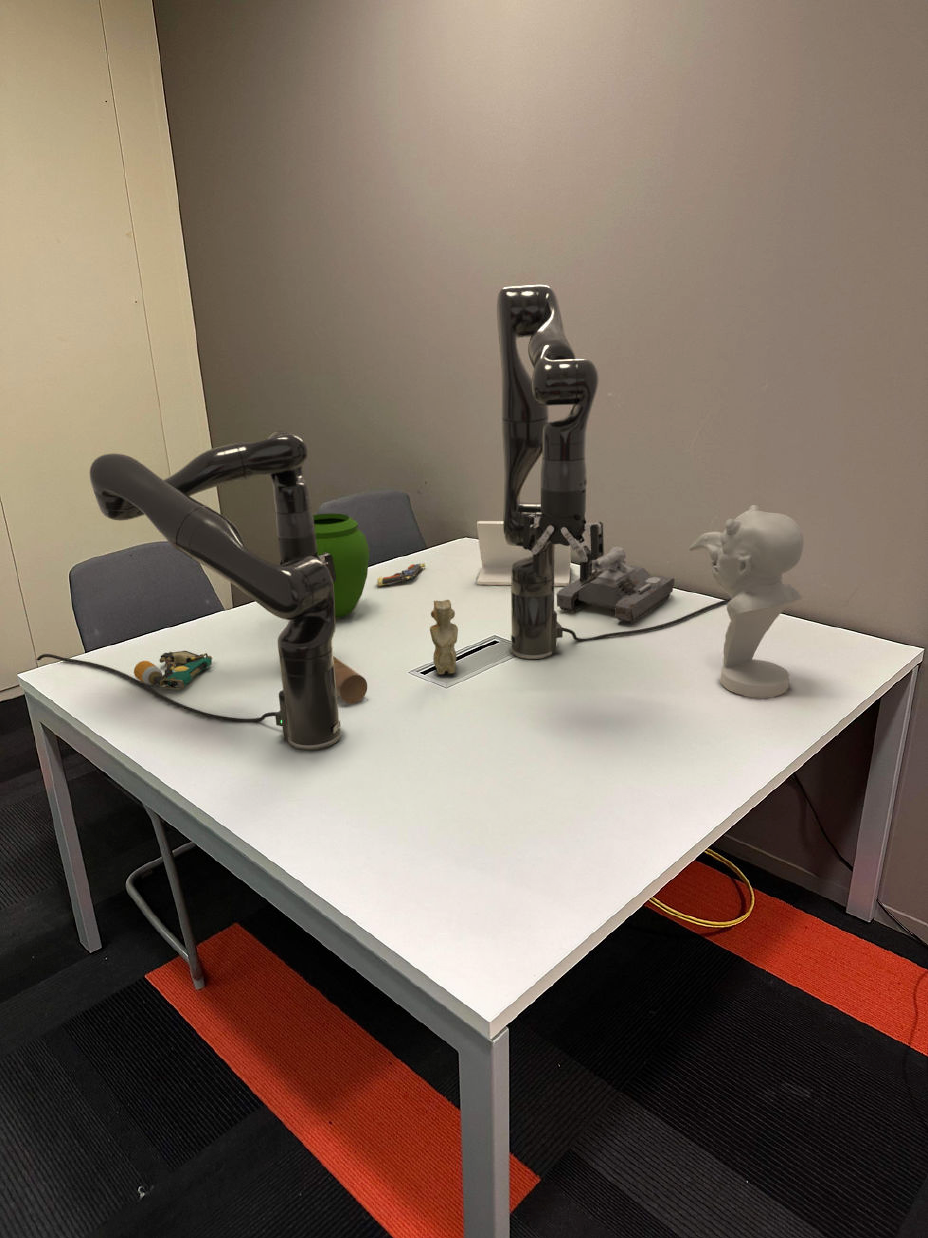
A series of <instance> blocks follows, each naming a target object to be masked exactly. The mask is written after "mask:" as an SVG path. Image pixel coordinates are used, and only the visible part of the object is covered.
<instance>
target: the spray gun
mask: <svg viewBox="0 0 928 1238" xmlns="http://www.w3.org/2000/svg"><path fill="white" fill-rule="evenodd" d="M212 660H213V657H212V656H211V655H208V653H207V652H205V653H201V654H197V653H194V652H192V651H191V652H190V651H188V650H180V651H169V652H164V653H162V654H161V655H160V658H159V660H158V662H159V663H161V664H163V663H165V664H166V668H165V670H163V672H164V674H163V673H162V669H160V668H159V666H157V665H156V664H154V663H152V662H151V661H149V660H141V661H139V662H138V663H136V665H135V666H134V668H133V675H134V677H135V679H136V680H138V681H140V682H141V683H143V684H145V685H146V686H155V685H157V686H158V687H160V688H161V689H171V690H172V689H173V690H182V689H184V687H185V686H186V685H188V684H189V683H190V682H191V681H192V679H193V678H195V677H196V676H197V675H198V674H200V673H201V672H202V671H203V670H206V669H208V668H209V667H210V666H211V665H212V662H213V661H212ZM178 663H179V664H181V665H179V666H176V665H177V664H178Z"/></svg>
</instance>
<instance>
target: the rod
mask: <svg viewBox="0 0 928 1238" xmlns="http://www.w3.org/2000/svg"><path fill="white" fill-rule="evenodd" d="M333 659H334V670H335V681H336V692H337V698H339V699H340V700H342V702H344V703H346V704H348V705H349V704H350V705H352V704H353V705H354V704H356V703H359V702H360V701H362V700H363V699H364V697H366V694H367V691H368V682H367V680H366V678H365V677H364V676H362V675H361V674H360V673H359V672H357V671H355V670H354V669H352V668H351V667H350V666H348V665H347V664H346V663H344V662H343V661H341V660H340V659H339V658H337V657H336V656H334V655H333Z"/></svg>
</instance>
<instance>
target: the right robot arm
mask: <svg viewBox="0 0 928 1238" xmlns="http://www.w3.org/2000/svg"><path fill="white" fill-rule="evenodd" d="M560 309H561V308H560V305H559V301H558V297H557V295H556V293H555V292H554V290H553V288H552V287H550V286H548V285H545V284H532V285H531V284H530V285H515V286H505V287H501V289H500V290H499V291H498V295H497V300H496V318H497V332H498V333H497V334H498V344H499V356H500V368H501V434H502V449H503V450H502V451H503V466H504V467H503V468H504V469H503V470H504V485H503V487H504V488H503V490H504V491H503V518H502V519H503V520H502V521H503V530H504V537H505V541H506V543H507V544H508V545H510V546H519V547H523V548H524V549H525V550H527V549H528V550H530V551H531V552H532V553H533V555H532V556H530V557H527V558H524V559H521V560H518V561H516V562H515V563H513V565H512V567H511V585H510V588H511V589H510V597H511V599H510V603H511V604H510V606H511V607H510V609H511V610H510V615H511V617H510V618H511V621H510V622H511V635H510V641H511V643H510V644H511V647H510V651H511V653H512V655H513V656H515V657H518V658H521V659H525V660H526V659H527V660H540V659H545V658H548V657H550V656H552V655H557V654H558V653H557V650H558V649H557V648H558V647H557V645H558V644H557V643H558V639H561V638H564V637H563V632H565V633H569V634H570V635H571V636H572V639H573V640H574V641H576V642H579V643H581V642H589V641H597V640H601V639H605V638H610V637H617V636H625V635H633V634H639V633H646V632H651V631H654V630H658V629H663V628H665V627H668V626H671V625H675V624H677V623H681V622H682V621H685V620H687V619H689V618H692V617H694V616H697V615H698V614H701V613H703V612H705V611H708V610H710V609H713V608H716V607H718V606H720V605H723V604H728V603H729V601H730V600H731V599H732V598H726V599H724V600H720V601H718V602H715V603H712V604H710V605H707V606H705V607H702V608H700V609H698V610H696V611H694V612H691V613H688V614H687V615H684V616H682V617H680V618H679V617H678V618H677V619H674V620H672V621H669V622H666V623H662V624H658V625H655V626H650V627H645V628H640V629H633V630H627V631H625V630H624V631H617V632H616V631H615V632H609V633H604V634H600V635H597V636H593V637H589V638H582V637H577V634H576V632H574V630H572V629H570V628H566V627H563V626H562V624H560V623H559V621H558V613H557V612H556V611H555V586H554V555H555V544H561V545H564V546H569V545H570V548H572V550H573V551H574V552H576V553H577V555H578V557H579V559H580V560H581V561H580V562H579V579H580V582H582V583H585V582H587V581H588V580H589V579H590V578H591V576H592V567H593V564H592V561H593V560H598V559H600V558H602V557H603V556H605V544H604V523H603V522H602V521H597V522H587V520H586V509H587V484H588V479H587V464H586V445H587V444H586V443H587V441H586V438H587V429H588V423H589V419H590V414H591V411H592V408H593V404H594V401H595V398H596V395H597V392H598V388H599V381H600V380H599V378H600V377H599V373H598V369H597V367H596V365H595V364H594V362H593V361H591V360H590V359H586V358H576V354H575V352H574V349H573V348H572V346H571V344H570V342H569V340H568V338H567V336H566V334H565V328H564V324H563V318H562V313H561V310H560ZM527 338H528V339H529V342H528V344H527V345H528V346H527V348H528V349H527V354H528V357H529V361H530V363H531V365H532V367H533V372H532V377H531V376H530V374H529V371H528V370H527V369H526V367H525V365H524V363H523V361H522V359H521V358H522V357H521V356H520V352H519V348H518V343H517V339H527ZM554 406H555V407H556V406H572V407H571V410H570V411H569V413H568V414H566V416H563V417H561V418H557V419H553V420H550V417H549V414H550V410H549V407H554ZM540 457H542V458H541V467H540V502H528V501H527V502H522V501H521V493H522V489H523V486H524V484H525V482H526V481H527V479H528V476H529V475H530V473H531V471H532V470H533V468H534V466H535V465H536V463H537V462H538V461H539V459H540ZM585 532H587V535H588V536H589V537H590V546H589V541H588V540H587V537H586V536H585V535H584V533H585Z"/></svg>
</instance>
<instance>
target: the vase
mask: <svg viewBox="0 0 928 1238" xmlns="http://www.w3.org/2000/svg"><path fill="white" fill-rule="evenodd" d="M312 515H313V519H314V525H315V535H316V544H317V554H318V556H321V555H323V553H325V552H326V553H328V554H330V555H332V556H333V561H334V567H335V573H336V581H335V582H333V587H334V599H335V620H336V619H341V618H345V617H347V616H349V615H350V614H351V613H352V612H353V611H354V610H355V608H356V607H357V605H358V604H359V601H360V599H361V597H362V595H363V592H364V588H365V586H366V581H367V578H368V570H369V561H370V560H369V559H370V548H369V545H368V541H367V537H366V535H365V534H364V533H363V532H362V531H361V530H360V529H359V527H358V524H359V523H358V521H356V520H355V519H353V518H352V517H350V516H349V515H347V514H344V513H335V512H334V513H333V512H331V513H320V514H312Z"/></svg>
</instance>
